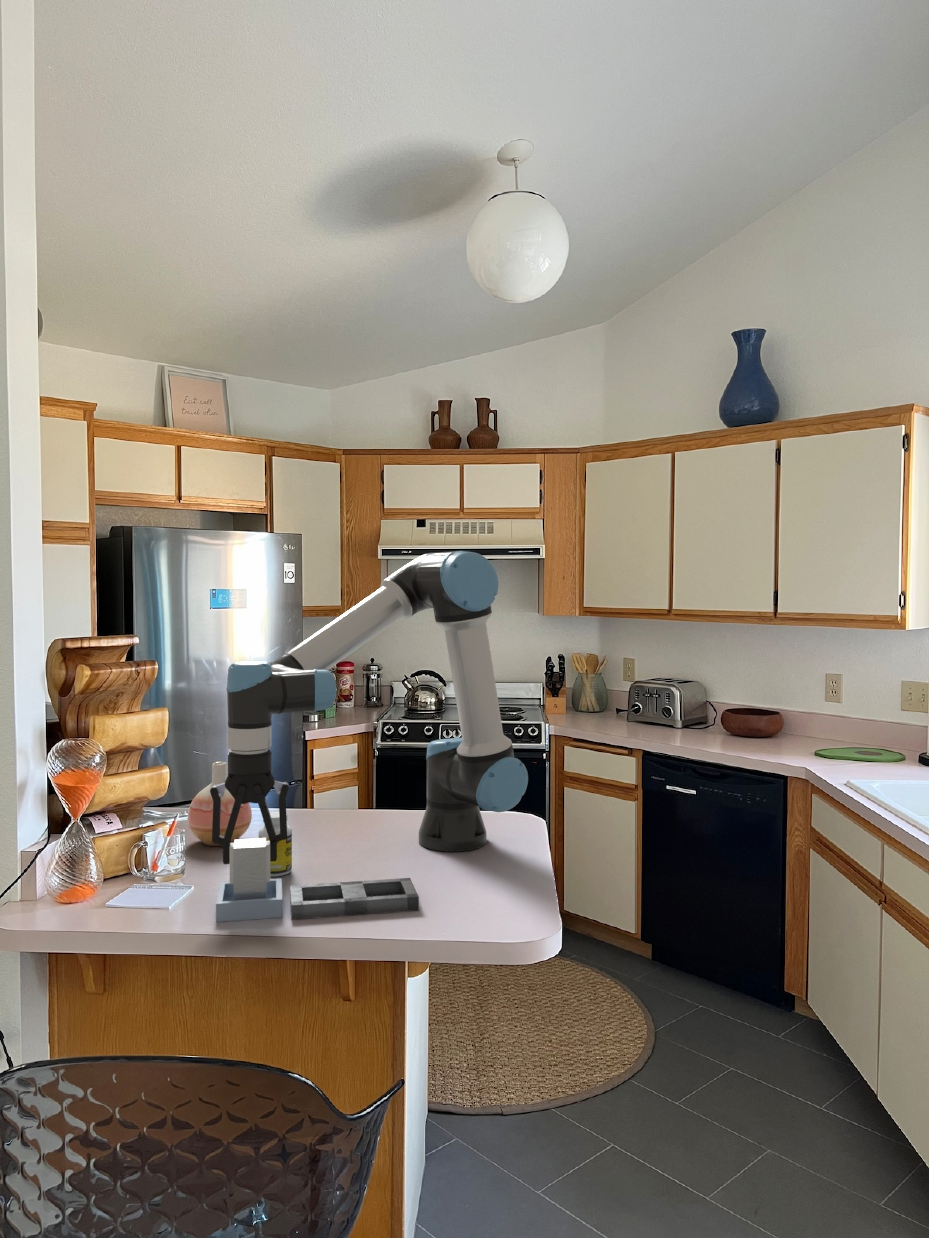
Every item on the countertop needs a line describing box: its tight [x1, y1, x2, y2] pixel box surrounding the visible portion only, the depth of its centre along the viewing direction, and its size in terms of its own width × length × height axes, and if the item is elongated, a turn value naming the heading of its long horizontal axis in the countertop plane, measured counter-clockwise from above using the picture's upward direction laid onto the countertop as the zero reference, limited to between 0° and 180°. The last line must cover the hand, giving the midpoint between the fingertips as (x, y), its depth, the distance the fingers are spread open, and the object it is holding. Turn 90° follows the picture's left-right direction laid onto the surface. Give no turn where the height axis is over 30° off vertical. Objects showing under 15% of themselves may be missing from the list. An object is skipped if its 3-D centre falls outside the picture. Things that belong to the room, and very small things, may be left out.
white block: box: [233, 837, 266, 901], centre depth 156 cm, size 6×6×10 cm
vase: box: [187, 761, 253, 847], centre depth 195 cm, size 14×14×18 cm
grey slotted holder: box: [289, 877, 420, 921], centre depth 159 cm, size 22×10×2 cm, turn 102°
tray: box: [215, 878, 283, 923], centre depth 157 cm, size 11×11×3 cm
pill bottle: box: [258, 811, 293, 878], centre depth 175 cm, size 6×6×12 cm
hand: (250, 879), depth 156 cm, fingers closed on white block, 5 cm apart
